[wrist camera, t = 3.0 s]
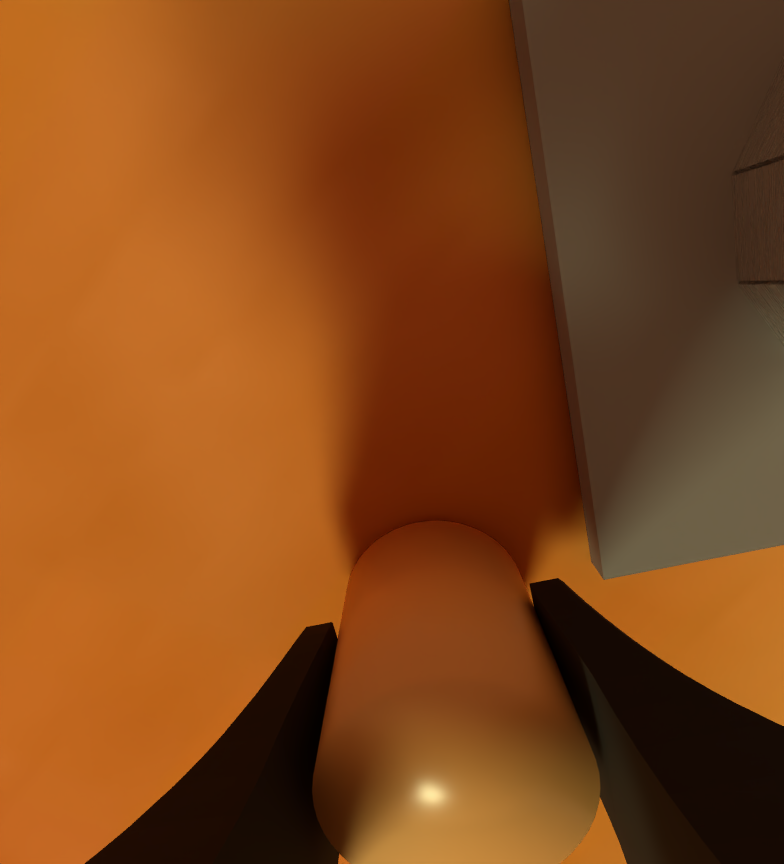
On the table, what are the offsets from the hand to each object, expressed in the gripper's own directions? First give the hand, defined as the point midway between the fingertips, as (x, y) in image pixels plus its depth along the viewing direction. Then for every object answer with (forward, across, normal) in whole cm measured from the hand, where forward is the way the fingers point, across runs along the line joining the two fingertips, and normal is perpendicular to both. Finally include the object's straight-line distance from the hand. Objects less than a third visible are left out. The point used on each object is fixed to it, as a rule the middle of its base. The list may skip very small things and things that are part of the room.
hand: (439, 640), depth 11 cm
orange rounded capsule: (+2, 0, 0) cm, 2 cm away
